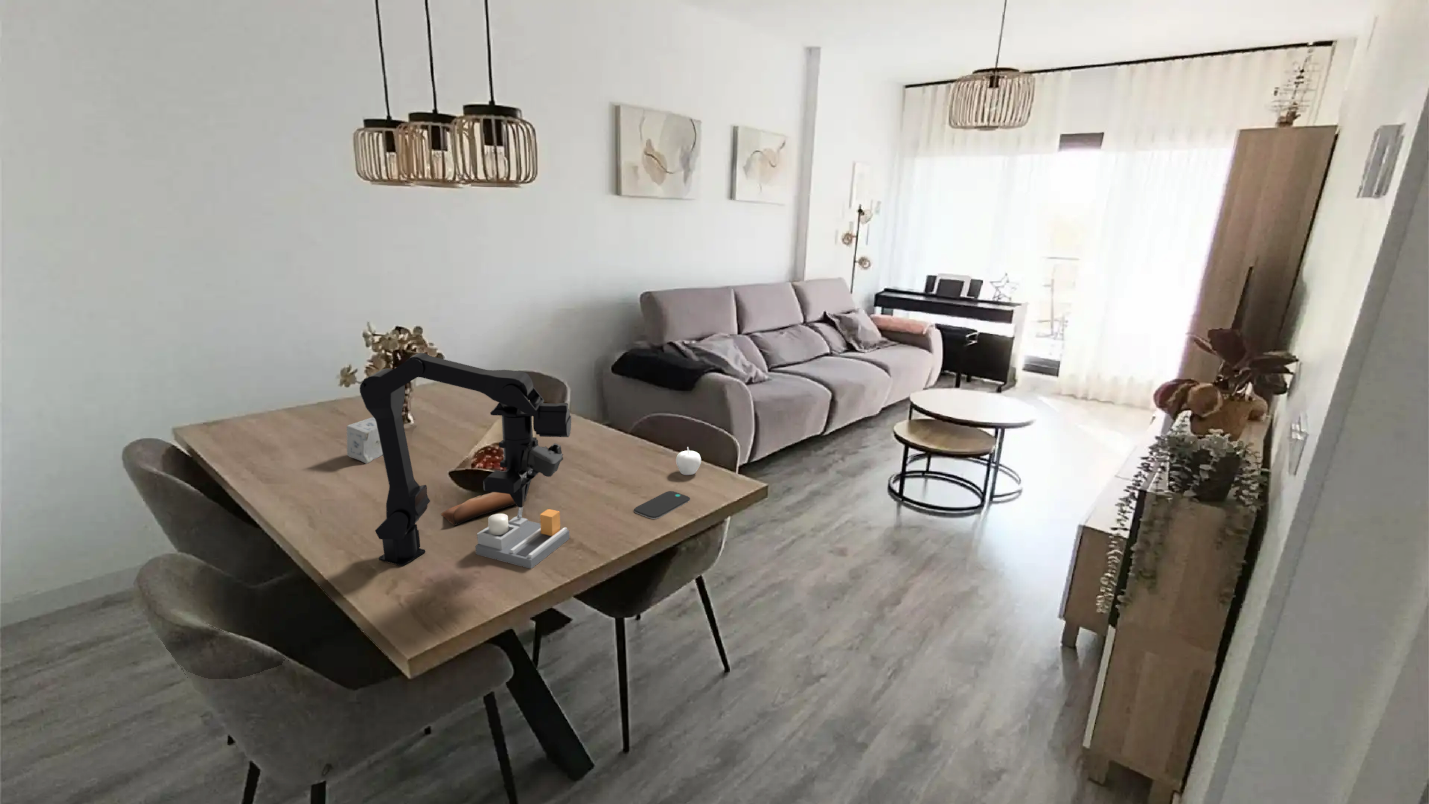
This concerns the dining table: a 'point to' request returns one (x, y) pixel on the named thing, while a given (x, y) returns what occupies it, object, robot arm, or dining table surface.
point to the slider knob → (550, 522)
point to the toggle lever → (520, 512)
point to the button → (498, 524)
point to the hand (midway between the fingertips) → (520, 506)
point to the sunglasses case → (477, 507)
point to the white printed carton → (363, 440)
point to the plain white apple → (688, 462)
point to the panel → (520, 543)
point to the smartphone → (661, 505)
